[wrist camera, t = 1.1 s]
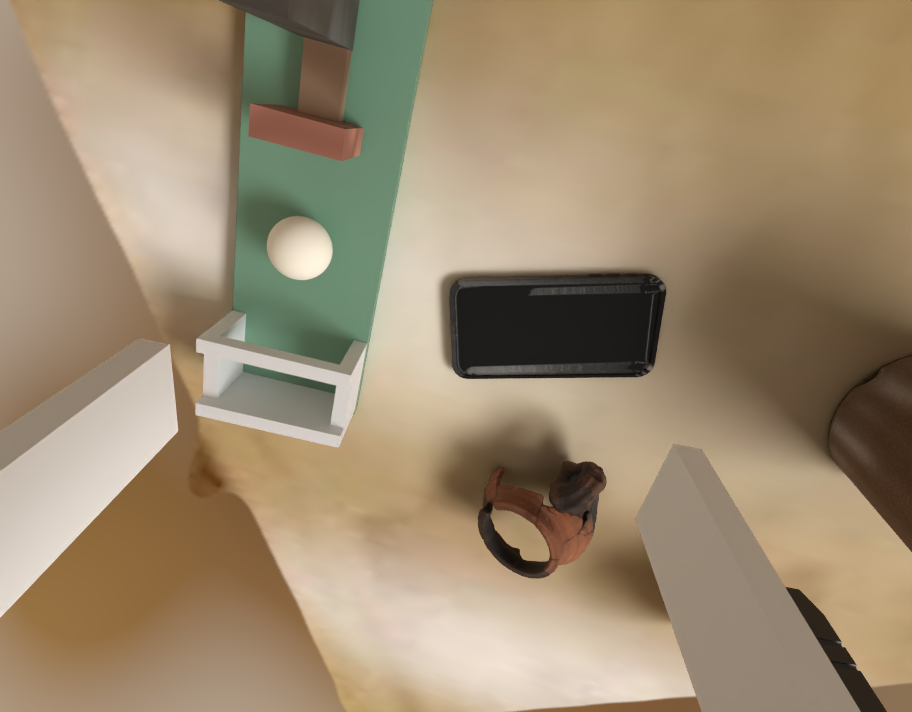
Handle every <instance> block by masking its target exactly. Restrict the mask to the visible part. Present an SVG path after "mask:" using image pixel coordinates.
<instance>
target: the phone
mask: <svg viewBox="0 0 912 712" xmlns="http://www.w3.org/2000/svg"><path fill="white" fill-rule="evenodd" d="M665 296H666V287H665V284H664V283H663V282H662V281H661V280H660V279H659V278H658V277H657V276H655V275H652V274H624V275H620V274H606V275H602V274H589V275H579V276H533V277H488V278H463V279H459V280H458V281H456V282H455V283H454V284H453V285H452V287H451V290H450V297H449V299H450V320H451V342H452V364H453V370H454V371H455V373H456V374H457V375H458V376H460V377H462V378H466V379H494V378H592V377H640V376H644V375H646V374H647V373H649V372H650V371H651V370H652V368H653V366H654V363H655V358H656V352H657V345H658V339H659V333H660V327H661V321H662V315H663V308H664V302H665Z"/></svg>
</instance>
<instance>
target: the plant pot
mask: <svg viewBox="0 0 912 712" xmlns="http://www.w3.org/2000/svg"><path fill="white" fill-rule="evenodd" d="M829 448H830V452H831V455H832V457H833V459H834V461H835V462H836V464H837V465H838V466H839V467H840V468H841V470H842V471H843V472H844V473H845V474H846V475H847V477H848V478H849V479H850V480H851V481H852V482H853V483H854V485H855V486H856V487H857V488H858V489H859V491H860V492H861V493H862V494H863V495H864V496H865V498H866V499H867V500H868V501H869V502H870V504H871V505H872V506H873V507H874V508H875V509H876V511H877V512H878V513H879V514H880V515H881V516H882V518H883V519H884V520H885V521H886V522H887V523H888V525H889V526H890V527H891V528H892V529H893V530H894V532H895V533H896V534H897V535H898V536H899V538H900V539H901V540H902V541H903V542H904V543H905V545H906V546H907V547H908V548H909V549H910V550H911V552H912V356H910V357H906V358H903V359H899V360H897V361H895V362H893V363H891V364H889V365H886V366H884V367H882V368H881V369H880V370H879V372H878V374H877V375H876V377H875V378H873V379H872V380H870V381H868V382H867V383H865V384H863V385H860V386H857V387H855V388H854V389H853V390H852V391H851V392H850V393H849V394H848V395H847V396H846V397H845V399H844V400H843V401H842V403H841V404H840V406H839V407H838V409H837V411H836V413H835V415H834V417H833V420H832V423H831V426H830V431H829Z"/></svg>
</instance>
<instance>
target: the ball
mask: <svg viewBox="0 0 912 712" xmlns="http://www.w3.org/2000/svg"><path fill="white" fill-rule="evenodd" d="M267 252H268V256H269V259H270V261H271V263H272V264H273V266H274V267H275V268H276V269H277V270H278V271H279V272H280V273H282V274H283V275H285V276H287V277H289V278H292V279H296V280H308V279H312V278H315V277H317V276H319V275H320V274H321V273H323V272H324V271H325V270H326V268H327V267H328V265H329V264H330V261H331V258H332V253H333V248H332V242H331V239H330V236H329V234H328V233H327V231H326V230H325V229H324V227H323V226H322V225H320V224H319V223H318V222H316V221H315V220H313V219H311V218H308V217H304V216H292V217H288V218H285V219H283V220H281V221H279V222H278V223H277V224H276V225H275V226H274V227H273V228H272V230H271V231H270V233H269V236H268V240H267Z"/></svg>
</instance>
